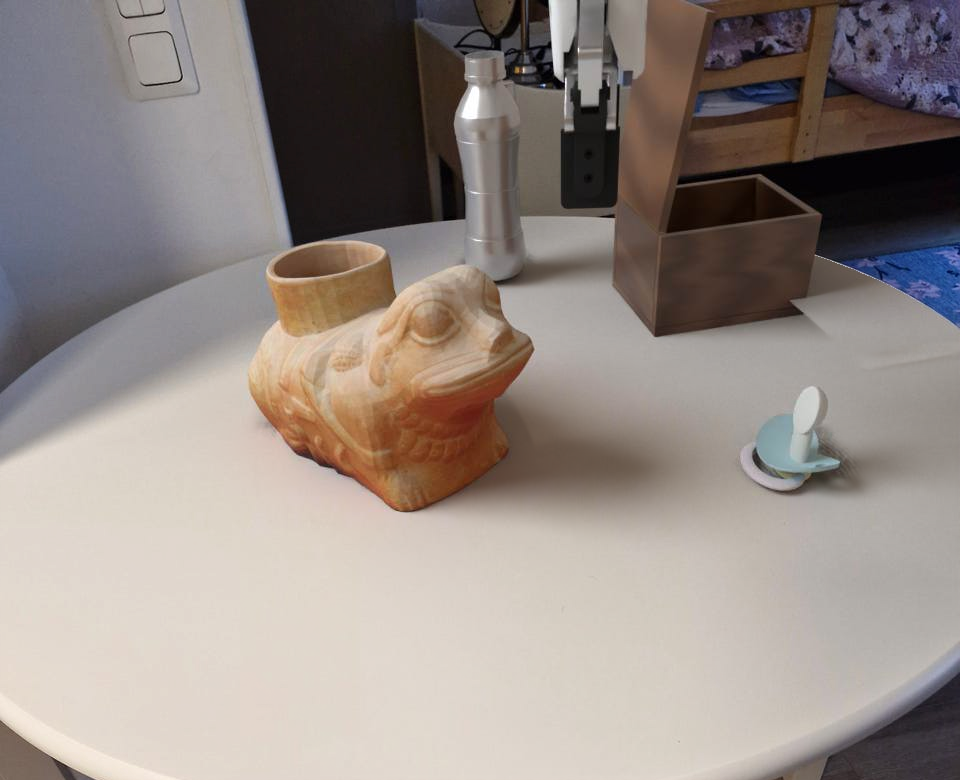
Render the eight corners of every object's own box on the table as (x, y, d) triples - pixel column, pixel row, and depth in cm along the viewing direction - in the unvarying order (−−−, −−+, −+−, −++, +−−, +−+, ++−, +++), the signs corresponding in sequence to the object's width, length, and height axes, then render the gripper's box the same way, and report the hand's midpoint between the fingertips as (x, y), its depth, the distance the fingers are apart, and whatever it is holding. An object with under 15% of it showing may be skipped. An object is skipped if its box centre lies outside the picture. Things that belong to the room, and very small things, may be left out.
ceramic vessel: (447, 550, 60) (423, 337, 50) (227, 429, 74) (173, 243, 64) (578, 463, 67) (580, 260, 57) (354, 367, 81) (323, 190, 71)
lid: (658, -11, 75) (649, -12, 74) (717, 12, 65) (707, 11, 65) (619, 188, 85) (611, 188, 85) (666, 232, 76) (657, 231, 75)
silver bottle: (537, 269, 95) (533, 48, 82) (506, 292, 91) (496, 64, 78) (485, 260, 98) (473, 45, 84) (453, 283, 94) (434, 61, 80)
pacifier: (760, 504, 62) (844, 491, 62) (771, 424, 58) (862, 410, 58) (725, 450, 67) (803, 438, 68) (733, 373, 63) (816, 360, 63)
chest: (747, 265, 92) (760, 173, 86) (803, 313, 83) (822, 214, 77) (612, 285, 91) (615, 193, 85) (654, 336, 82) (661, 237, 76)
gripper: (687, -212, 36) (657, 228, 48) (669, -211, 49) (649, 138, 60) (504, -196, 37) (518, 232, 49) (532, -199, 50) (538, 142, 61)
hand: (590, 179), depth 55 cm, fingers open, 9 cm apart
